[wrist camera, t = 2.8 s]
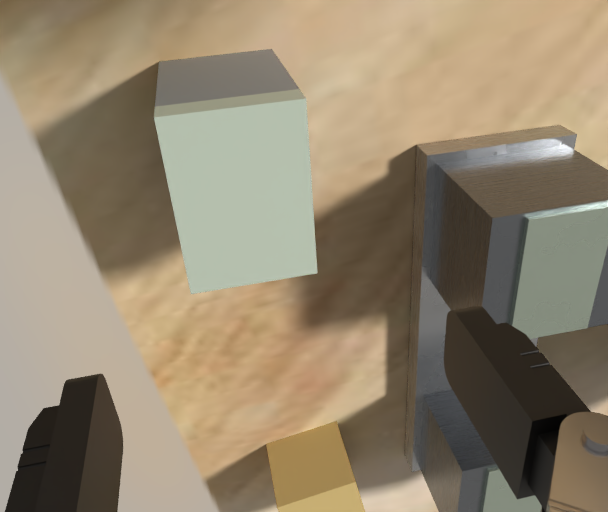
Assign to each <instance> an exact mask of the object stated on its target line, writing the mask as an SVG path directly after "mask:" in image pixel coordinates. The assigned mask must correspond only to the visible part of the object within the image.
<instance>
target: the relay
mask: <svg viewBox="0 0 608 512" xmlns="http://www.w3.org/2000/svg"><path fill="white" fill-rule="evenodd" d="M266 446H267V452H268V458H269V464H270V469H271V475H272V481H273V487H274V492H275V498H276V504H277V509H278V511H279V512H365V510H364V507H363V503H362V500H361V497H360V494H359V491H358V487H357V484H356V481H355V478H354V475H353V472H352V468H351V465H350V462H349V459H348V456H347V453H346V450H345V446H344V443H343V440H342V437H341V434H340V431H339V428H338V424H337V421H336V422H333V423H330V424H326V425H323V426H320V427H317V428H314V429H311V430H308V431H305V432H302V433H299V434H296V435H293V436H289V437H286V438H283V439H280V440H277V441H274V442H271V443H268V444H266Z"/></svg>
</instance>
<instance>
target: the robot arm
mask: <svg viewBox="0 0 608 512" xmlns="http://www.w3.org/2000/svg"><path fill="white" fill-rule="evenodd" d="M444 369H445V373H446V377H447V380H448V382H449V384H450V386H451V388H452V390H453V391H454V393H455V395H456V397H457V398H458V400H459V402H460V403H461V405H462V407H463V408H464V410H465V412H466V413H467V415H468V417H469V419H470V420H471V422H472V424H473V425H474V427H475V429H476V430H477V432H478V434H479V436H480V437H481V439H482V441H483V442H484V444H485V446H486V447H487V449H488V451H489V453H490V454H491V456H492V458H493V459H494V461H495V463H496V464H497V466H498V468H499V469H500V471H501V473H502V475H503V476H504V478H505V480H506V481H507V483H508V485H509V486H510V488H511V490H512V492H513V493H514V495H515V497H516V498H517V499H521V498H525V497H530V496H534V495H535V496H536V498H537V499H538V501H539V502H540V504H541V506H542V507H541V512H608V416H606V415H603V414H600V413H595V412H591V411H590V410H589V409H588V408H587V407H586V405H585V404H584V403H583V402H582V401H581V399H580V398H579V397H578V396H577V395H576V393H575V392H574V391H573V390H572V389H571V388H570V386H569V385H568V384H567V383H566V382H565V380H564V379H563V378H562V377H561V376H560V374H559V373H558V372H557V371H556V370H555V369H554V367H553V366H552V365H549V361H548V360H547V359H546V358H545V357H544V355H543V354H542V353H539V350H538V348H537V347H536V346H535V345H534V344H533V342H532V341H531V340H530V339H529V338H528V336H527V335H526V334H524V333H523V332H521V331H520V330H518V329H516V328H515V327H513V326H511V325H510V324H508V323H506V322H505V323H500V324H496V323H495V321H494V320H493V319H492V317H491V316H490V315H489V314H488V312H487V311H486V310H485V309H484V308H483V307H482V306H473V307H468V308H462V309H457V310H451V311H449V312H448V314H447V319H446V333H445V347H444ZM122 455H123V436H122V429H121V424H120V421H119V417H118V415H117V412H116V409H115V406H114V403H113V400H112V397H111V394H110V391H109V388H108V385H107V383H106V380H105V378H104V376H103V374H97V375H91V376H85V377H80V378H75V379H69V380H66V382H65V384H64V387H63V392H62V396H61V400H60V405H59V406H54V407H48V408H44V409H43V410H42V411H41V412H40V414H39V415H38V417H37V418H36V419H35V420H34V422H33V423H32V424H31V426H30V427H29V429H28V432H27V436H26V439H25V442H24V446H23V454H21V457H20V460H19V464H18V471H16V474H15V478H14V482H13V485H12V489H11V492H10V496H9V499H8V503H7V506H6V510H5V512H117V508H118V498H119V487H120V476H121V466H122Z"/></svg>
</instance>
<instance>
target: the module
mask: <svg viewBox="0 0 608 512" xmlns="http://www.w3.org/2000/svg"><path fill="white" fill-rule="evenodd" d="M154 121H155V125H156V130H157V135H158V140H159V144H160V149H161V154H162V159H163V163H164V168H165V173H166V178H167V183H168V187H169V192H170V197H171V202H172V206H173V211H174V216H175V221H176V225H177V230H178V235H179V240H180V244H181V249H182V254H183V259H184V263H185V268H186V273H187V278H188V282H189V287H190V292H191V294H195V293H201V292H207V291H213V290H219V289H225V288H231V287H237V286H244V285H250V284H256V283H262V282H268V281H274V280H280V279H286V278H292V277H298V276H304V275H310V274H317V258H316V243H315V227H314V212H313V197H312V181H311V166H310V151H309V135H308V120H307V105H306V98H305V96H304V95H303V93H302V92H301V90H300V89H299V88H298V86H297V85H296V83H295V82H294V80H293V79H292V78H291V76H290V75H289V73H288V72H287V70H286V69H285V67H284V66H283V65H282V63H281V62H280V60H279V59H278V57H277V56H276V54H275V53H274V52H273V50H272V49H267V50H258V51H249V52H241V53H232V54H223V55H214V56H205V57H196V58H187V59H178V60H169V61H160V62H159V68H158V79H157V89H156V100H155V110H154Z"/></svg>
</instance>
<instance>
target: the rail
mask: <svg viewBox="0 0 608 512" xmlns="http://www.w3.org/2000/svg"><path fill="white" fill-rule="evenodd" d="M576 137H577V134H575V133H574V132H572V131H570V130H568V129H566V128H565V127H563V126H561V125H557V126H550V127H543V128H536V129H528V130H521V131H514V132H507V133H499V134H492V135H485V136H478V137H471V138H463V139H456V140H449V141H442V142H434V143H427V144H420V145H417V148H416V174H415V201H414V227H413V254H412V280H411V307H410V333H409V360H408V386H407V413H406V439H405V456H406V459H407V461H408V464H409V466H410V468H411V471H412V472H414V471H418V470H421V472H422V474H423V476H424V478H425V481H426V483H427V485H428V488H429V490H430V492H431V494H432V497H433V499H434V501H435V504H436V506H437V508H438V510H439V512H541V507H542V506H541V504H540V502H539V501H538V499H537V498H536V496H535V495H534V496H530V497H525V498H521V499H517V498H516V497H515V495H514V493H513V492H512V490H511V488H510V486H509V485H508V483H507V481H506V480H505V478H504V476H503V475H502V473H501V471H500V469H499V468H498V466H497V464H496V463H495V461H494V459H493V458H492V456H491V454H490V453H489V451H488V449H487V447H486V446H485V444H484V442H483V441H482V439H481V437H480V436H479V434H478V432H477V430H476V429H475V427H474V425H473V424H472V422H471V420H470V419H469V417H468V415H467V413H466V412H465V410H464V408H463V407H462V405H461V403H460V402H459V400H458V398H457V397H456V395H455V393H454V391H453V390H452V388H451V386H450V384H449V382H448V380H447V377H446V373H445V369H444V347H445V333H446V319H447V314H448V312H449V311H451V310H457V309H462V308H468V307H473V306H482V307H483V308H484V309H485V310H486V311H487V312H488V314H489V315H490V316H491V317H492V319H493V320H494V321H495V323H496V324H500V323H505V322H506V323H508V324H510V325H511V326H513V327H515V328H516V329H518V330H520V331H521V332H523V333H524V334H526V335H527V336H528V338H529V339H530V340H531V341H532V342H533V344H534V345H535V346H537V341H538V337H543V336H549V335H554V334H559V333H565V332H570V331H575V330H581V329H586V328H588V327H593V326H598V325H604V324H608V170H607V169H605V168H603V167H602V166H600V165H598V164H597V163H595V162H593V161H592V160H590V159H589V158H587V157H585V156H584V155H582V154H580V153H579V152H577V151H575V150H574V147H575V142H576Z"/></svg>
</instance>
